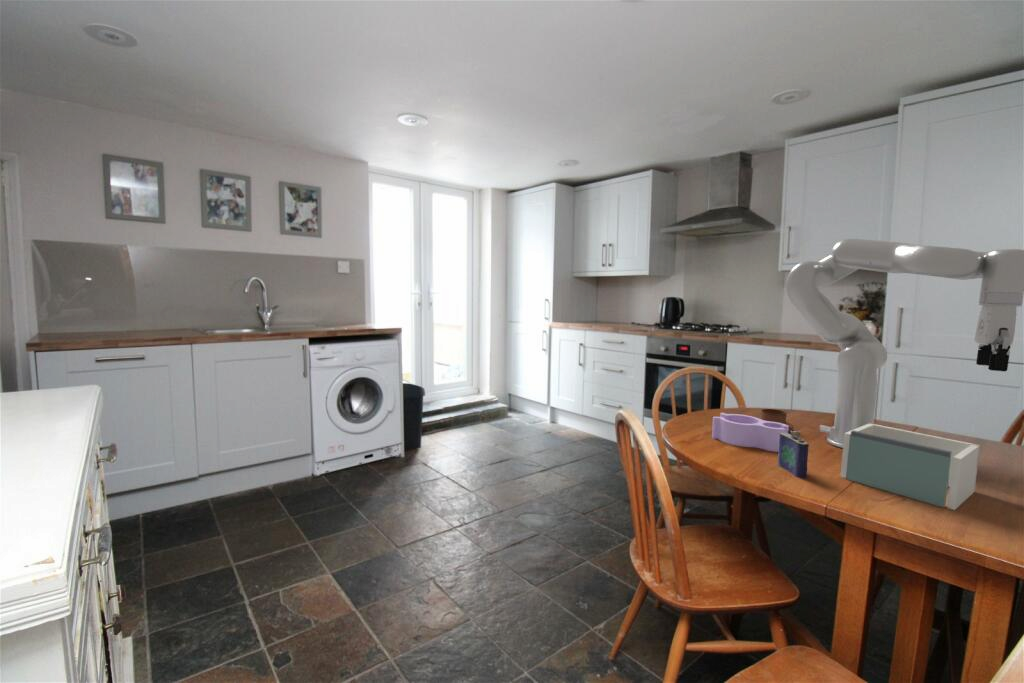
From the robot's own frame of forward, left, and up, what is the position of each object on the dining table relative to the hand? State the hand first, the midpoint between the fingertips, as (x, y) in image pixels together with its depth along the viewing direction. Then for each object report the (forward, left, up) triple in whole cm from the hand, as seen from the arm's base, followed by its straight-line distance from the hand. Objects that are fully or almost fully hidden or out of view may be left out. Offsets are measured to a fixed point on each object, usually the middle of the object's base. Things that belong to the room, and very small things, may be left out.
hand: (990, 367), depth 118 cm
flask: (-26, -42, -28) cm, 57 cm away
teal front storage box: (-7, -28, -28) cm, 40 cm away
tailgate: (-7, -36, -27) cm, 46 cm away
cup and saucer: (-49, -5, -28) cm, 57 cm away
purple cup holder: (-46, -26, -28) cm, 60 cm away
